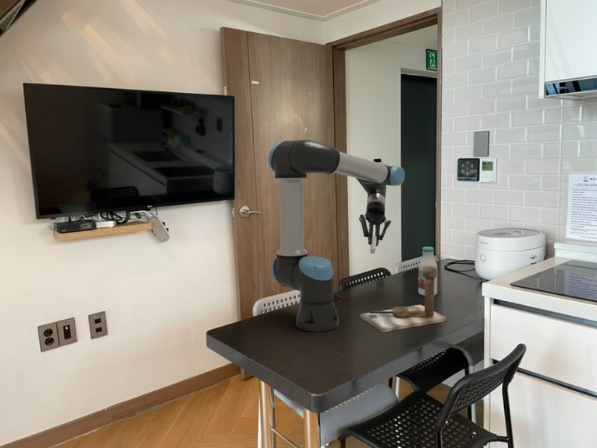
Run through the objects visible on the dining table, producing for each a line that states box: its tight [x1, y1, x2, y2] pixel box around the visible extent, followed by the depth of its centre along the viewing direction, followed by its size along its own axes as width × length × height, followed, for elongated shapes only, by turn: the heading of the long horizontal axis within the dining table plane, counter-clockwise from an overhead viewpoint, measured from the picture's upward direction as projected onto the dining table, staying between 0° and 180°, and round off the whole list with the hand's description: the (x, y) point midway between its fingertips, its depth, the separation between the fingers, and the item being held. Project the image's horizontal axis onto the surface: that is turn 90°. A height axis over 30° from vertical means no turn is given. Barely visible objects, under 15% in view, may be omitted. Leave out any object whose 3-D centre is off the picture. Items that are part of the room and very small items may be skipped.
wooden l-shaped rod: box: [369, 266, 438, 317], centre depth 163 cm, size 23×6×17 cm, turn 84°
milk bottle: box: [417, 246, 438, 297], centre depth 193 cm, size 8×8×20 cm
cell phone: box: [333, 293, 350, 306], centre depth 188 cm, size 8×15×1 cm, turn 136°
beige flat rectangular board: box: [359, 304, 448, 333], centre depth 165 cm, size 26×16×2 cm, turn 110°
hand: (372, 250), depth 173 cm, fingers closed
